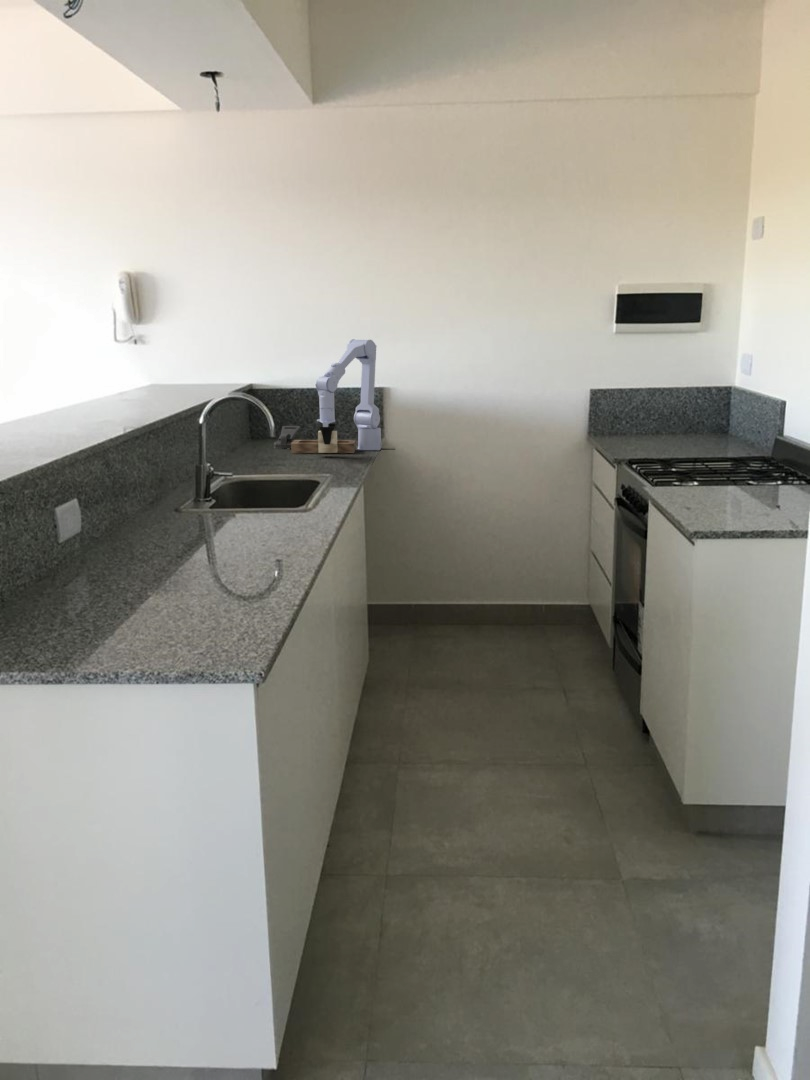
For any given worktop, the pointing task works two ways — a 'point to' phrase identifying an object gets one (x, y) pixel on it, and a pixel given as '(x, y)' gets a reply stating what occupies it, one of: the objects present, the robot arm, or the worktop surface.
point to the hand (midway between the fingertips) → (327, 443)
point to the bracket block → (327, 447)
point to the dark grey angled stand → (286, 437)
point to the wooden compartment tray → (312, 446)
